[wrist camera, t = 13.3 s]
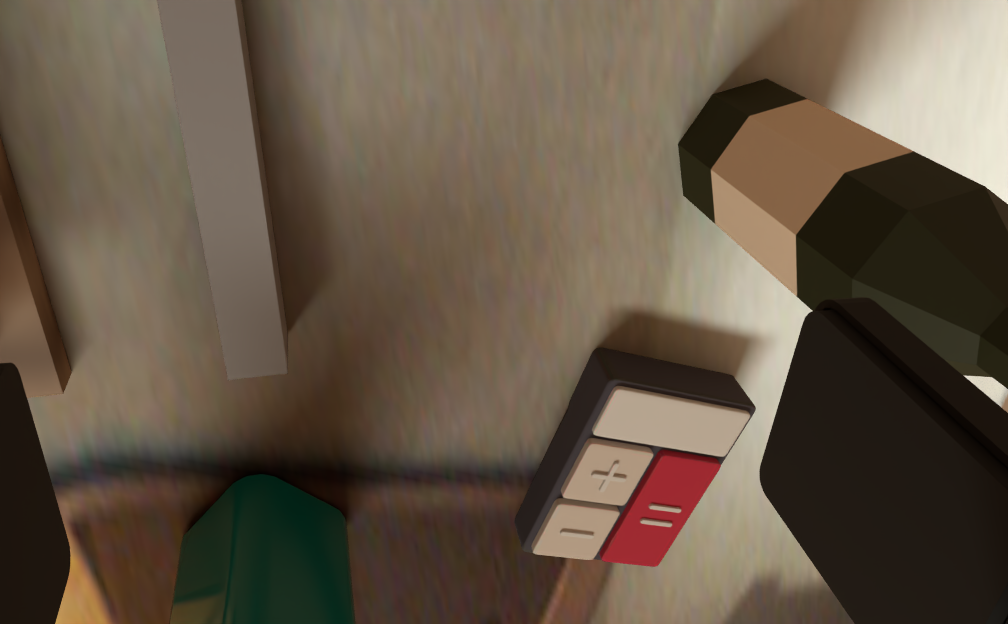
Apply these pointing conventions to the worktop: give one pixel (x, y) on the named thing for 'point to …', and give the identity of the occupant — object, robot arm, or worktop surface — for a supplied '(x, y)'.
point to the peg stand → (26, 301)
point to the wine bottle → (855, 219)
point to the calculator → (631, 459)
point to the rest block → (228, 180)
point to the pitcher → (265, 560)
